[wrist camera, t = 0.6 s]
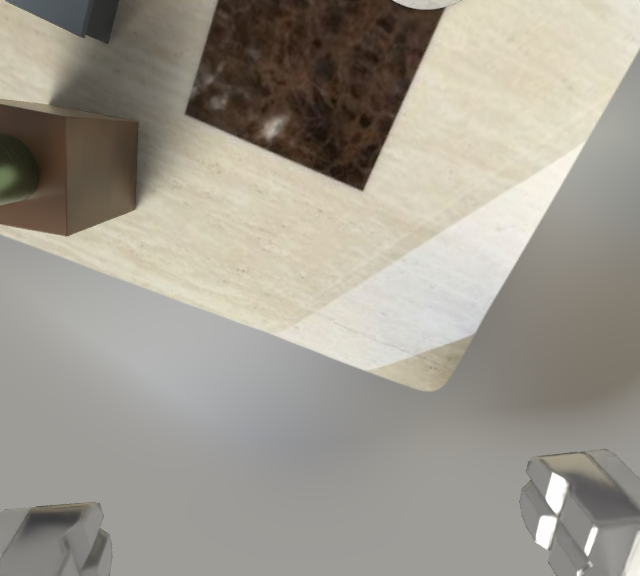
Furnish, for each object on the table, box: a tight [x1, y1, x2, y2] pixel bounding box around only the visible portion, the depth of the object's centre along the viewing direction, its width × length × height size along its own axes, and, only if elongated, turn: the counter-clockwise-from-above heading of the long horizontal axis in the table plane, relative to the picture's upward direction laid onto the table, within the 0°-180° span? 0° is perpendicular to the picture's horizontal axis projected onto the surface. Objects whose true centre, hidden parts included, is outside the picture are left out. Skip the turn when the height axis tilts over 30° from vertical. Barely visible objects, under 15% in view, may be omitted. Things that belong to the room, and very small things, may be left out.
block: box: [0, 99, 138, 236], centre depth 39 cm, size 9×9×13 cm
